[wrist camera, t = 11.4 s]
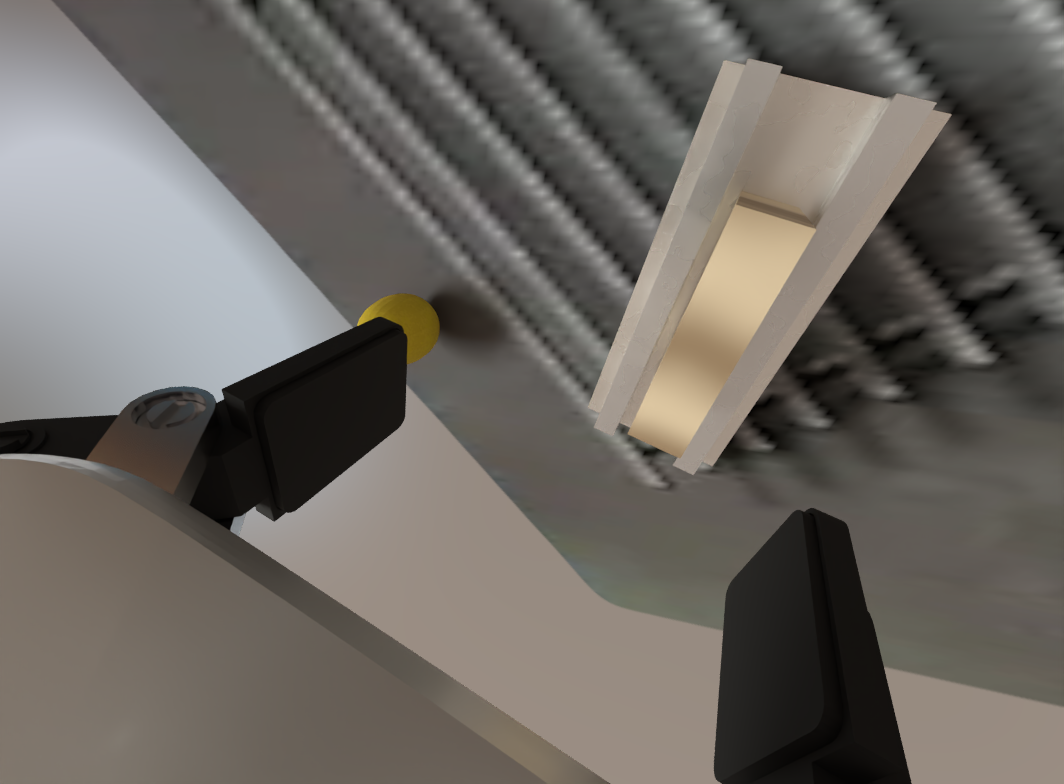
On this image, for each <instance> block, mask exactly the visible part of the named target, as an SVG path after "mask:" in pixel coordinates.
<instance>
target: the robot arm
mask: <svg viewBox="0 0 1064 784" xmlns="http://www.w3.org/2000/svg"><path fill="white" fill-rule="evenodd" d="M407 342H408V339H407V335H406V334H405V333H404V329H403V327H402V326H401V325H399V324H397V323H395V322H393V321H390V320H388V319H386V318H384V317H376V318H374V319H372V320H369V321H367V322H365V323H363V324H361V325H359V326H357V327H354V328H352V329H350V330H348V331H346V332H344V333H342V334H340V335H337V336H335V337H333V338H331V339H329V340H326V341H324V342H322V343H320V344H318V345H316V346H314V347H311V348H309V349H307V350H305V351H303V352H301V353H299V354H296V355H294V356H292V357H290V358H288V359H286V360H283V361H281V362H279V363H277V364H275V365H273V366H271V367H268V368H266V369H264V370H262V371H260V372H258V373H256V374H253V375H251V376H249V377H247V378H245V379H243V380H241V381H238V382H236V383H234V384H232V385H230V386H228V387H225V388H223V389H222V392H223V395H224V400H222V401H220V402H218V403H216V401H215V398H214V396H213V395H212V394H210V393H209V392H208V391H206V390H203V389H199V388H195V387H185V386H183V387H170V388H165V389H160V390H155V391H153V392H150V393H147V394H145V395H142V396H140V397H138V398H137V399H135V400H133V401H132V402H130V403H129V404H128V405H127V406H126V407H125V408H124V409H123V410H122V411H121V413H120V414H119V415H109V416H90V417H74V418H73V417H72V418H55V419H54V418H53V419H35V420H20V421H12V422H5V423H0V784H610V783H608V782H607V781H605V780H604V779H602V778H601V777H600V776H598V775H597V774H595V773H594V772H592V771H591V770H589V769H587V768H586V767H585V766H583V765H582V764H580V763H579V762H577V761H576V760H574V759H573V758H571V757H570V756H568V755H567V754H565V753H564V752H562V751H561V750H559V749H558V748H556V747H555V746H553V745H552V744H550V743H549V742H547V741H546V740H544V739H543V738H541V737H540V736H538V735H537V734H535V733H534V732H532V731H531V730H530V729H528V728H527V727H525V726H523V725H522V724H521V723H519V722H517V721H516V720H515V719H513V718H511V717H510V716H509V715H507V714H506V713H504V712H503V711H501V710H500V709H498V708H497V707H495V706H494V705H492V704H491V703H489V702H488V701H486V700H485V699H483V698H482V697H480V696H479V695H477V694H476V693H474V692H473V691H471V690H470V689H468V688H467V687H465V686H464V685H462V684H461V683H459V682H458V681H456V680H455V679H453V678H452V677H450V676H449V675H447V674H446V673H444V672H443V671H441V670H440V669H438V668H437V667H435V666H434V665H432V664H431V663H429V662H428V661H426V660H425V659H423V658H422V657H420V656H419V655H417V654H416V653H414V652H413V651H411V650H410V649H408V648H407V647H405V646H404V645H402V644H401V643H399V642H398V641H396V640H395V639H393V638H392V637H390V636H389V635H387V634H386V633H384V632H383V631H381V630H379V629H378V628H377V627H375V626H374V625H372V624H370V623H369V622H368V621H366V620H365V619H363V618H361V617H360V616H358V615H357V614H356V613H354V612H353V611H351V610H350V609H348V608H347V607H345V606H343V605H342V604H340V603H339V602H337V601H336V600H334V599H333V598H331V597H330V596H328V595H327V594H325V593H324V592H322V591H321V590H319V589H318V588H316V587H315V586H313V585H312V584H310V583H309V582H307V581H306V580H304V579H303V578H301V577H299V576H298V575H296V574H295V573H293V572H292V571H290V570H289V569H287V568H286V567H284V566H283V565H281V564H280V563H278V562H277V561H275V560H274V559H272V558H271V557H269V556H268V555H266V554H264V553H263V552H261V551H260V550H258V549H257V548H255V547H254V546H252V545H251V544H249V543H248V542H246V541H245V540H243V539H242V538H240V537H239V534H240V531H241V528H242V525H243V521H244V518H245V515H246V512H248V511H249V510H250V509H252V508H253V507H256V510H257V511H258V512H260V513H261V514H263V515H265V516H266V517H268V518H269V519H271V520H272V521H276V520H277V519H278V518H280V517H281V516H282V515H284V514H285V513H286V512H287V513H289V512H293V511H295V510H297V509H298V508H300V507H301V506H302V505H303V504H304V503H306V502H307V501H308V500H309V499H311V498H312V497H313V496H314V495H315V494H317V493H318V492H319V491H321V490H322V489H323V488H324V487H326V486H327V485H328V484H329V483H331V482H332V481H333V480H334V479H335V478H337V477H338V476H339V475H341V474H342V473H343V472H344V471H346V470H347V469H348V468H349V467H350V466H352V465H353V464H354V463H356V462H357V461H358V460H359V459H361V458H362V457H363V456H364V455H366V454H367V453H368V452H369V451H371V450H372V449H373V448H374V447H375V446H377V445H378V444H379V443H380V442H382V441H383V440H384V439H385V438H387V437H388V436H389V435H391V434H392V433H393V432H394V431H395V430H397V429H398V428H399V427H400V426H401V424H402V423H403V421H404V418H405V403H406V374H407ZM714 774H715V778H716V780H717V781H719V782H720V783H722V784H912V783H911V779H910V775H909V771H908V767H907V762H906V759H905V754H904V750H903V746H902V741H901V737H900V733H899V729H898V725H897V721H896V717H895V712H894V708H893V704H892V700H891V695H890V691H889V687H888V683H887V679H886V674H885V670H884V666H883V662H882V658H881V653H880V649H879V645H878V641H877V637H876V632H875V628H874V624H873V621H872V618H871V616H870V613H869V612H868V611H867V607H866V602H865V598H864V594H863V590H862V585H861V581H860V577H859V572H858V568H857V564H856V559H855V555H854V551H853V547H852V542H851V538H850V534H849V529H848V526H847V524H846V523H845V522H844V521H842V520H839V519H837V518H835V517H833V516H830V515H828V514H826V513H823V512H821V511H819V510H817V509H814V508H810V509H808V510H806V511H805V512H803V511H801V510H796V511H794V512H793V513H792V514H791V515H790V516H789V518H788V519H787V520H786V521H785V522H784V523H783V524H782V525H781V526H780V528H779V529H778V530H777V531H776V532H775V533H774V534H773V535H772V537H771V538H770V539H769V540H768V541H767V542H766V543H765V544H764V545H763V547H762V548H761V549H760V550H759V551H758V552H757V553H756V554H755V556H754V557H753V558H752V559H751V560H750V561H749V562H748V563H747V564H746V566H745V567H744V568H743V569H742V570H741V571H740V572H739V573H738V574H737V576H736V577H735V578H734V579H733V580H732V581H731V583H730V585H729V587H728V590H727V593H726V600H725V614H724V629H723V643H722V658H721V671H720V686H719V699H718V714H717V729H716V742H715V756H714Z"/></svg>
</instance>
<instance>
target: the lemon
mask: <svg viewBox="0 0 1064 784" xmlns="http://www.w3.org/2000/svg"><path fill="white" fill-rule="evenodd" d="M376 317H384V318H386V319H388V320H390V321H393V322H395V323H397V324H399V325H401V326H402V327H403V329H404V333H405V334H406V335H407V339H408V342H407V364H410V363H413V362H415V361H417V360H419V359H421V358H422V357H423V356H425V355H426V354H427V353H429V352H430V351H431V349H432V348H433V347H434V345H435V344H436V342H437V339H438V336H439V330H440V324H439V319H438V316H437V314H436V312H435V310H434V309H433V307H432V306H431V305H430V304H429V303H428V302H426V301H425V300H424V299H422V298H420V297H418V296H415V295H412V294H395V295H390V296H386V297H384V298H382V299H380V300H378V301H377V302H375V303H374V304H372V305H371V306H370V307H369V308H367V309H366V310H365V312H364V313H363V315H362V316H361V317H360V319H359V322H358V325H357V326H359V325H361V324H363V323H365V322H367V321H369V320H372V319H374V318H376Z"/></svg>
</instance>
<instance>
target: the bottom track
mask: <svg viewBox="0 0 1064 784" xmlns="http://www.w3.org/2000/svg"><path fill="white" fill-rule="evenodd" d="M782 67H783V66H778V65H774V64H770V63H766V62H761V61H757V60H753V59H749V58H748V60H747V63H746V65H743V64H739V63H735V62H730V61H726V60H724V62H723V65H722V67H721V70H720V72H719V75H718V77H717V80H716V83H715V85H714V88H713V90H712V93H711V95H710V98H709V100H708V103H707V105H706V108H705V111H704V113H703V116H702V118H701V121H700V123H699V126H698V128H697V131H696V133H695V136H694V139H693V141H692V144H691V146H690V149H689V151H688V154H687V156H686V159H685V161H684V164H683V167H682V169H681V172H680V174H679V177H678V179H677V182H676V184H675V187H674V190H673V192H672V195H671V197H670V200H669V202H668V205H667V207H666V210H665V212H664V215H663V218H662V220H661V223H660V225H659V228H658V230H657V233H656V235H655V238H654V240H653V243H652V246H651V248H650V251H649V253H648V256H647V258H646V261H645V263H644V266H643V268H642V271H641V274H640V276H639V279H638V281H637V284H636V286H635V289H634V291H633V294H632V296H631V299H630V302H629V304H628V307H627V309H626V312H625V314H624V317H623V319H622V322H621V325H620V327H619V330H618V332H617V335H616V337H615V340H614V342H613V345H612V347H611V350H610V353H609V355H608V358H607V360H606V363H605V365H604V368H603V370H602V373H601V375H600V378H599V381H598V383H597V386H596V388H595V391H594V393H593V396H592V398H591V401H590V403H589V406H588V408H590V409H592V410H594V411H596V412H598V413H600V414H599V417H598V419H597V422H596V424H595V426H594V428H596V429H599V430H601V431H603V432H605V433H607V434H609V435H611V436H613V435H614V433H615V431H616V429H617V427H618V425H619V423H622V424H624V425H626V426H628V427H631V425H632V423H633V421H634V419H635V417H636V414H637V412H638V410H639V408H640V406H641V404H642V402H643V399H644V397H645V395H646V393H647V391H648V389H649V386H650V384H651V382H652V380H653V378H654V376H655V373H656V371H657V369H658V367H659V365H660V363H661V361H662V359H663V356H664V354H665V352H666V350H667V348H668V346H669V344H670V342H671V339H672V337H673V335H674V333H675V331H676V329H677V327H678V325H679V323H680V320H681V318H682V316H683V314H684V312H685V310H686V308H687V306H688V303H689V301H690V299H691V297H692V295H693V293H694V291H695V289H696V286H697V284H698V282H699V280H700V278H701V276H702V274H703V272H704V270H705V267H706V265H707V263H708V261H709V259H710V257H711V255H712V253H713V250H714V248H715V246H716V244H717V242H718V240H719V238H720V236H721V233H722V231H723V229H724V227H725V225H726V223H727V221H728V219H729V217H730V214H731V212H732V210H733V208H734V206H735V204H736V202H737V200H738V197H739V195H740V193H741V191H745V192H748V193H752V194H755V195H758V196H762V197H765V198H768V199H772V200H775V201H778V202H782V203H785V204H788V205H792V206H795V207H798V208H800V209H801V210H802V212H803V213H804V214H805V215H806V217H807V218H808V219H809V220H810V222H811V223H812V224H813V225H814V227H815V228H816V229H817V230H816V232H815V233H814V235H813V237H812V238H811V240H810V242H809V243H808V245H807V247H806V248H805V250H804V252H803V253H802V255H801V257H800V259H799V260H798V262H797V264H796V265H795V267H794V269H793V270H792V272H791V274H790V275H789V277H788V279H787V280H786V282H785V284H784V285H783V287H782V289H781V290H780V292H779V294H778V295H777V297H776V299H775V300H774V302H773V304H772V306H771V307H770V309H769V311H768V312H767V314H766V316H765V317H764V319H763V321H762V322H761V324H760V326H759V327H758V329H757V331H756V332H755V334H754V336H753V337H752V339H751V341H750V342H749V344H748V346H747V347H746V349H745V351H744V353H743V354H742V356H741V358H740V359H739V361H738V363H737V364H736V366H735V368H734V369H733V371H732V373H731V374H730V376H729V378H728V379H727V381H726V383H725V384H724V386H723V388H722V389H721V391H720V393H719V394H718V396H717V398H716V400H715V401H714V403H713V405H712V406H711V408H710V410H709V411H708V413H707V415H706V416H705V418H704V420H703V421H702V423H701V425H700V426H699V428H698V430H697V431H696V433H695V435H694V436H693V438H692V440H691V441H690V443H689V445H688V447H687V448H686V450H685V452H684V453H683V455H682V457H681V458H678V457H676V456H675V459H674V463H673V465H674V466H676V467H678V468H680V469H682V470H684V471H686V472H688V473H690V474H692V475H694V473H695V472H696V470H697V469H698V467H699V466H700V464H701V463H702V461H703V462H705V463H707V464H709V465H711V466H713V465H714V463H715V462H716V460H717V459H718V457H719V456H720V454H721V453H722V452H723V450H724V449H725V447H726V446H727V444H728V443H729V441H730V440H731V438H732V437H733V435H734V434H735V432H736V431H737V429H738V428H739V427H740V425H741V424H742V422H743V421H744V419H745V418H746V416H747V415H748V413H749V412H750V410H751V409H752V407H753V406H754V405H755V403H756V402H757V400H758V399H759V397H760V396H761V394H762V393H763V391H764V390H765V388H766V387H767V385H768V384H769V382H770V381H771V380H772V378H773V377H774V375H775V374H776V372H777V371H778V369H779V368H780V366H781V365H782V363H783V362H784V360H785V359H786V358H787V356H788V355H789V353H790V352H791V350H792V349H793V347H794V346H795V344H796V343H797V341H798V340H799V338H800V337H801V335H802V334H803V333H804V331H805V330H806V328H807V327H808V325H809V324H810V322H811V321H812V319H813V318H814V316H815V315H816V313H817V312H818V310H819V309H820V308H821V306H822V305H823V303H824V302H825V300H826V299H827V297H828V296H829V294H830V293H831V291H832V290H833V288H834V287H835V286H836V284H837V283H838V281H839V280H840V278H841V277H842V275H843V274H844V272H845V271H846V269H847V268H848V266H849V265H850V263H851V262H852V261H853V259H854V258H855V256H856V255H857V253H858V252H859V250H860V249H861V247H862V246H863V244H864V243H865V241H866V240H867V239H868V237H869V236H870V234H871V233H872V231H873V230H874V228H875V227H876V225H877V224H878V222H879V221H880V219H881V218H882V216H883V215H884V214H885V212H886V211H887V209H888V208H889V206H890V205H891V203H892V202H893V200H894V199H895V197H896V196H897V194H898V193H899V192H900V190H901V189H902V187H903V186H904V184H905V183H906V181H907V180H908V178H909V177H910V175H911V174H912V172H913V171H914V169H915V168H916V167H917V165H918V164H919V162H920V161H921V159H922V158H923V156H924V155H925V153H926V152H927V150H928V149H929V147H930V146H931V145H932V143H933V142H934V140H935V139H936V137H937V136H938V134H939V133H940V131H941V130H942V128H943V127H944V125H945V124H946V122H947V121H948V120H949V118H950V117H951V115H952V114H948V113H944V112H940V111H935V110H933V108H934V107H935V105H936V104H937V103H936V102H932V101H927V100H923V99H919V98H915V97H910V96H906V95H902V94H898V93H896V94H894V95H892V96H889V97H887V98H881V97H877V96H873V95H868V94H864V93H860V92H856V91H852V90H848V89H843V88H839V87H835V86H831V85H827V84H822V83H818V82H814V81H810V80H806V79H802V78H797V77H793V76H789V75H785V74H781V70H782Z"/></svg>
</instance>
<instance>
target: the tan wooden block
mask: <svg viewBox="0 0 1064 784" xmlns="http://www.w3.org/2000/svg"><path fill="white" fill-rule="evenodd" d="M816 230H817V229H816V228H815V227H814V225H813V224H812V223H811V222H810V220H809V219H808V218H807V217H806V215H805V214H804V213H803V212H802V210H801V209H800V208H798V207H795V206H792V205H788V204H785V203H782V202H778V201H775V200H772V199H768V198H765V197H762V196H758V195H755V194H752V193H748V192H745V191H741V193H740V195H739V197H738V200H737V202H736V204H735V206H734V208H733V210H732V212H731V214H730V217H729V219H728V221H727V223H726V225H725V227H724V229H723V231H722V233H721V236H720V238H719V240H718V242H717V244H716V246H715V248H714V250H713V253H712V255H711V257H710V259H709V261H708V263H707V265H706V267H705V270H704V272H703V274H702V276H701V278H700V280H699V282H698V284H697V286H696V289H695V291H694V293H693V295H692V297H691V299H690V301H689V303H688V306H687V308H686V310H685V312H684V314H683V316H682V318H681V320H680V323H679V325H678V327H677V329H676V331H675V333H674V335H673V337H672V339H671V342H670V344H669V346H668V348H667V350H666V352H665V354H664V356H663V359H662V361H661V363H660V365H659V367H658V369H657V371H656V373H655V376H654V378H653V380H652V382H651V384H650V386H649V389H648V391H647V393H646V395H645V397H644V399H643V402H642V404H641V406H640V408H639V410H638V412H637V414H636V417H635V419H634V421H633V423H632V425H631V427H630V430H629V432H628V434H629V435H631V436H633V437H635V438H637V439H639V440H642V441H644V442H646V443H648V444H650V445H652V446H654V447H656V448H659V449H661V450H663V451H665V452H667V453H669V454H671V455H674V456H676V457H678V458H681V457H682V455H683V453H684V452H685V450H686V448H687V447H688V445H689V443H690V441H691V440H692V438H693V436H694V435H695V433H696V431H697V430H698V428H699V426H700V425H701V423H702V421H703V420H704V418H705V416H706V415H707V413H708V411H709V410H710V408H711V406H712V405H713V403H714V401H715V400H716V398H717V396H718V394H719V393H720V391H721V389H722V388H723V386H724V384H725V383H726V381H727V379H728V378H729V376H730V374H731V373H732V371H733V369H734V368H735V366H736V364H737V363H738V361H739V359H740V358H741V356H742V354H743V353H744V351H745V349H746V347H747V346H748V344H749V342H750V341H751V339H752V337H753V336H754V334H755V332H756V331H757V329H758V327H759V326H760V324H761V322H762V321H763V319H764V317H765V316H766V314H767V312H768V311H769V309H770V307H771V306H772V304H773V302H774V300H775V299H776V297H777V295H778V294H779V292H780V290H781V289H782V287H783V285H784V284H785V282H786V280H787V279H788V277H789V275H790V274H791V272H792V270H793V269H794V267H795V265H796V264H797V262H798V260H799V259H800V257H801V255H802V253H803V252H804V250H805V248H806V247H807V245H808V243H809V242H810V240H811V238H812V237H813V235H814V233H815V232H816Z"/></svg>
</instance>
